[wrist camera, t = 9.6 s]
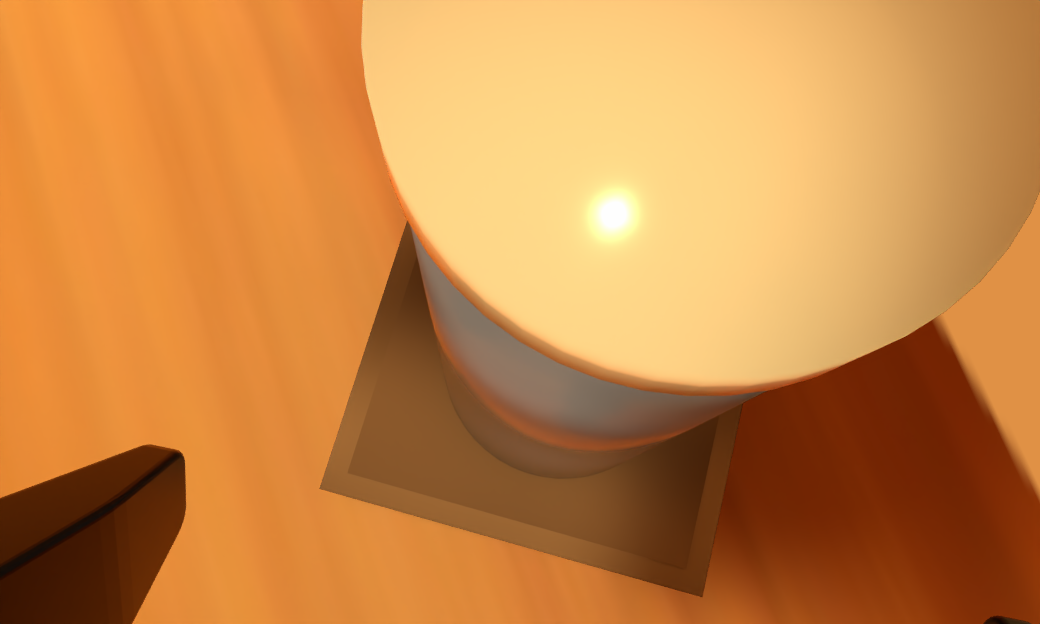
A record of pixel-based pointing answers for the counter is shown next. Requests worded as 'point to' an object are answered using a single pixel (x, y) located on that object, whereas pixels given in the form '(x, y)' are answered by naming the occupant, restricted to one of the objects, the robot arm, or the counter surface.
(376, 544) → the counter surface
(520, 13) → the canister
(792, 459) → the counter surface
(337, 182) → the counter surface
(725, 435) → the stand
